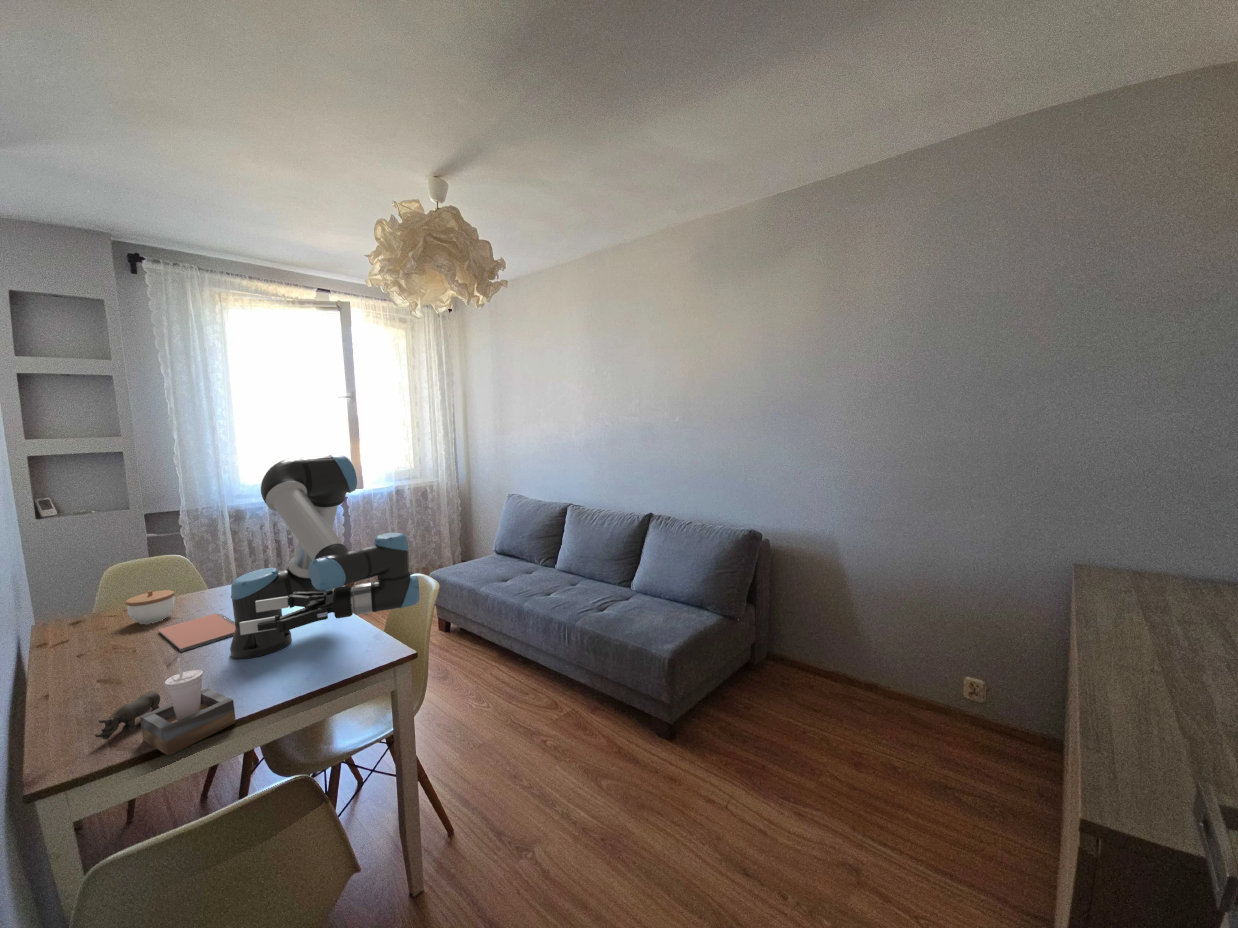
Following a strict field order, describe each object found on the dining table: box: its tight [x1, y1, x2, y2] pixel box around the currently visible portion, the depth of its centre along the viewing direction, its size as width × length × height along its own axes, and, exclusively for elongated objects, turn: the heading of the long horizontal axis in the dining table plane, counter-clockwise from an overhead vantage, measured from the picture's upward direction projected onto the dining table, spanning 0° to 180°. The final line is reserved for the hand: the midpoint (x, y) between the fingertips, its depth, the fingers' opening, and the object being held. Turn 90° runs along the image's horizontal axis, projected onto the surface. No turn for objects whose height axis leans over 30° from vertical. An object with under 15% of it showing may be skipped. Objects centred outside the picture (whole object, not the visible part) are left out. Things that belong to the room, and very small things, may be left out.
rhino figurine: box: [94, 690, 161, 741], centre depth 109 cm, size 4×14×6 cm, turn 176°
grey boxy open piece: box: [139, 687, 237, 757], centre depth 107 cm, size 12×12×6 cm
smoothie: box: [164, 657, 204, 721], centre depth 106 cm, size 6×6×14 cm
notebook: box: [157, 612, 235, 652], centre depth 162 cm, size 27×17×2 cm, turn 55°
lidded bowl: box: [125, 589, 176, 625], centre depth 174 cm, size 13×13×11 cm
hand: (248, 616), depth 111 cm, fingers open, 13 cm apart
